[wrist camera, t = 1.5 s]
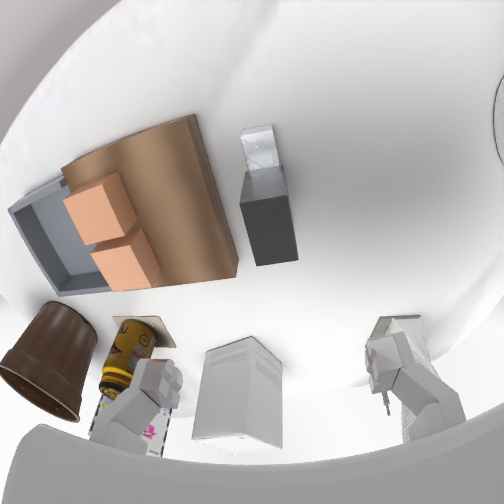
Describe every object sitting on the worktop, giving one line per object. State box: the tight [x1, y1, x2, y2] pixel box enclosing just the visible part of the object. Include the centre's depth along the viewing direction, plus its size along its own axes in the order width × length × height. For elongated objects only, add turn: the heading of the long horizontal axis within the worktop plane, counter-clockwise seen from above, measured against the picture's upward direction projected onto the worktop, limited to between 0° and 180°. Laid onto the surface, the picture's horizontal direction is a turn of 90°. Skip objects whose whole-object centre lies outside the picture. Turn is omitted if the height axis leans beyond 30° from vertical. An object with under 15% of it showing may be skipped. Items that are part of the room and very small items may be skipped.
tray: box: [8, 175, 112, 297], centre depth 28 cm, size 11×14×4 cm
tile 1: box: [90, 228, 161, 292], centre depth 26 cm, size 5×5×3 cm
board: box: [61, 114, 239, 291], centre depth 26 cm, size 14×16×3 cm
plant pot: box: [0, 302, 97, 423], centre depth 35 cm, size 16×16×16 cm
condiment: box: [99, 316, 176, 401], centre depth 35 cm, size 7×8×12 cm
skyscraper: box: [365, 315, 441, 444], centre depth 26 cm, size 8×8×28 cm
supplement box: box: [192, 337, 282, 454], centre depth 36 cm, size 9×9×15 cm
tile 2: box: [63, 172, 137, 245], centre depth 23 cm, size 5×5×3 cm
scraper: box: [239, 124, 299, 266], centre depth 22 cm, size 3×11×9 cm, turn 13°
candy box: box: [88, 394, 172, 458], centre depth 43 cm, size 14×6×16 cm, turn 57°
